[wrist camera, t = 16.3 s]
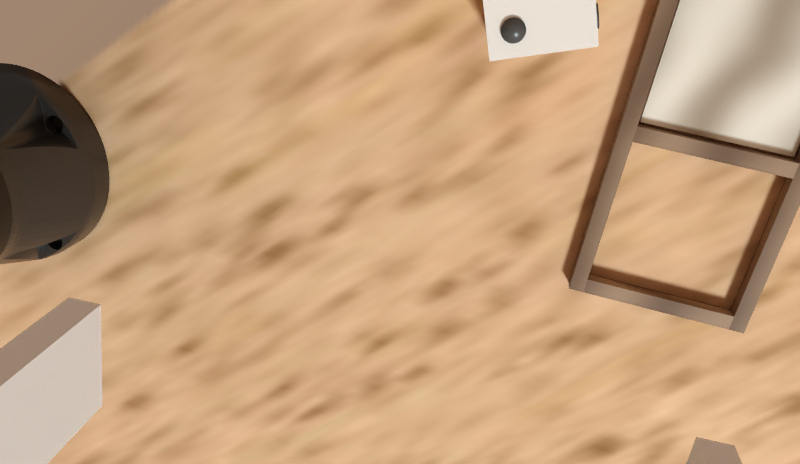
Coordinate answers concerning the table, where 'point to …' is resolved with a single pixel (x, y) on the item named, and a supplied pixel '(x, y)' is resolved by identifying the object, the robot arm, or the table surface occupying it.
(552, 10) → the die
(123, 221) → the table surface
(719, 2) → the brown multi-panel picture frame
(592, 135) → the table surface
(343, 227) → the table surface
